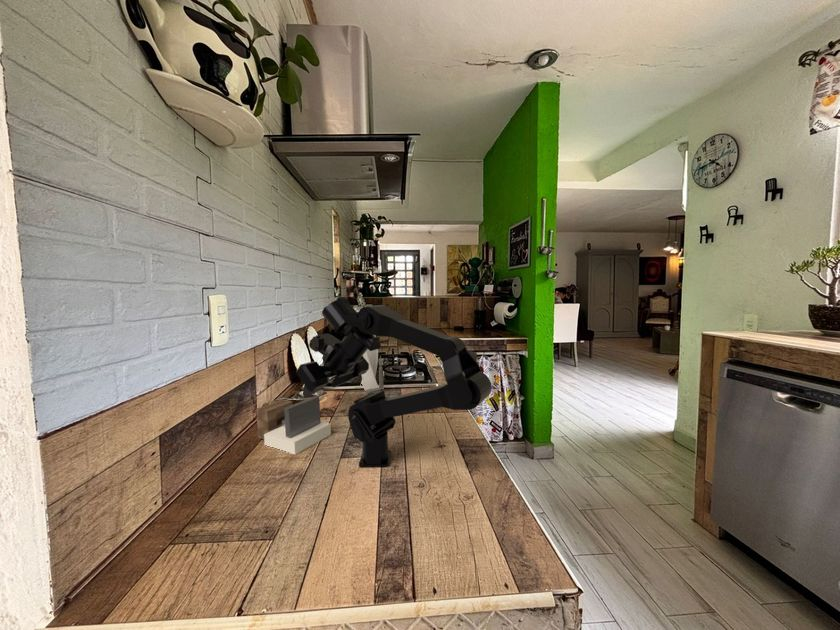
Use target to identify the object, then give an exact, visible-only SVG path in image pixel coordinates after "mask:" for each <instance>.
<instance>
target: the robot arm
mask: <svg viewBox="0 0 840 630" xmlns="http://www.w3.org/2000/svg"><path fill="white" fill-rule="evenodd" d="M321 314H322V315H321V316H323V318H324V319H325V320H326V322H327V323H328V324H329V325H330V327H331V328H332V330H334V332H335V333H336V334H338V335H339V334H342V335H345V336H344V337H343V339H342V340H340V339H339V338H337V337H335V336H334V335H332V334H331V333H322V334H316V335H315V336H312V338H311V339H310V340H309V344H308V347H309V349H311V350H312V351H314V352H315V353H317V352H318V353H320V354H321V355H322V357H321V360H323V362H326V367H324V368H323V367H321V366H320V365H319V363H318V362H317V361H314V360H313V361H309V362H306V363H301V364H300V365H299V366H298V367H297V369H296V371H295V373H296V374H297V376H298V378H299V379H300V380H301V382H302V383H303V390H302V396H303V398H305V399H307V398H309V397H310V396H312V395H315V394H316V393H319V392H320V391H322V390H324V389H325V388H326V386H327V385H328V383H329V379H330V378H333V377H334V378H333V380H332V381H331V387H332V388H337V387H338V386H340V385H342V384H345V383H347V382H350V381H351V380H353V379H357V378H359V377H360V376H361V377H362V374H365V373H366V372H367V371H368V369H369V363H368V362H367V361H366V360H365V358H364V357H363V354H364V353H365V352H366V351H367V349H369V351H373V350H377V349H378V350H380V349H381V348H382V344H381V341H380V337H388V338H393V339H396V340H398V341H401V342H403V343H404V344H405V343H406V344H408V345H411V346H413V347H416V348H418V349H421V350H423V351H425V352H427V353H430V354H433V355H435V356H438V357H439V359H440V361H441V364H442V369H443V375H444V378H445V382H446V383H445V384H442V385H438V386H434V387H430V388H426V389H425V388H424V389H420V390H416V391H413V392H412V391H411V392H408V393H405V394H399V395H395V396H386V393H385V389H383V390H380V391H378V392H375V393H374V392H370V393H369V394H367V395H365V396H362V397H360V398H357V399H356V400H354V401H353V404H352V405H350V406H349V408H348V412H347V413H348V414H347V416H348V421H349V422H348V423H349V426H350V428H351V432H352V434H353V435H352V436H353V438H354V439H356V440H359V442H360V443H361V448H362V449H361V452H362V453H361V455H360V459H359V461H358V467H360V468H372V467H373V468H375V467H376V468H378V467H383V468H385V467H389V466H390V461H391V455H392V450H389V440H388V439H389V437H388V436H389V433H388V432H389V431H390V430H392V429H394V428H395V425H396V417H399V416H400V417H401V416H406V415H410V414H411V415H412V414H415V413H420V412H426V411H430V410H434V409H440V408H445V409H448V410H451V411H472V410H473V409H475V408H477V407H478V406H479V405H481V403H483V402H484V401H485V400H486V399H487V398H488V397H490V395H491V392H492V387H493V386H492V381H491V379H490V377H488V376H487V375H486V374H485V373H484V372H483V370H482V368H481V366H480V365H479V362H478V361H476V360H475V359H474V358H473V356H472V355H471V354H470V353H469V352H468V351H469V350H468V349H467V347H466V344H465V343H464V342H463V340H462V339H461V338H459V337H458V336H452V335H449V334H446V333H443V332H441V331H438V330H435V329H432V328H430V327H427V326H424V325H422V324H419V323H416V322H413V321H411V320H408V319H405V318H404V317H403V316H401V315H400V313H399V312H397V311H396V310H394V309H392V308H391V307H389V306H387V305H384V304H379V305H378V304H377V305H369V306H368V305H367V306H366V305H365V306H362V307H361V308H360V309H359V311H357V310H356V309H355V308H354V307H353V305H351V302H349V300H348V298H347V297H346V296H339V297H337V299H336V300H334V301H331V302H330V303H329V304H328V305H326V306H324V308H323V310H322V312H321ZM374 335H375V336H376V337H375V336H374ZM462 371H463V372H464V374H465V375H464V374H463V372H462Z"/></svg>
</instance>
